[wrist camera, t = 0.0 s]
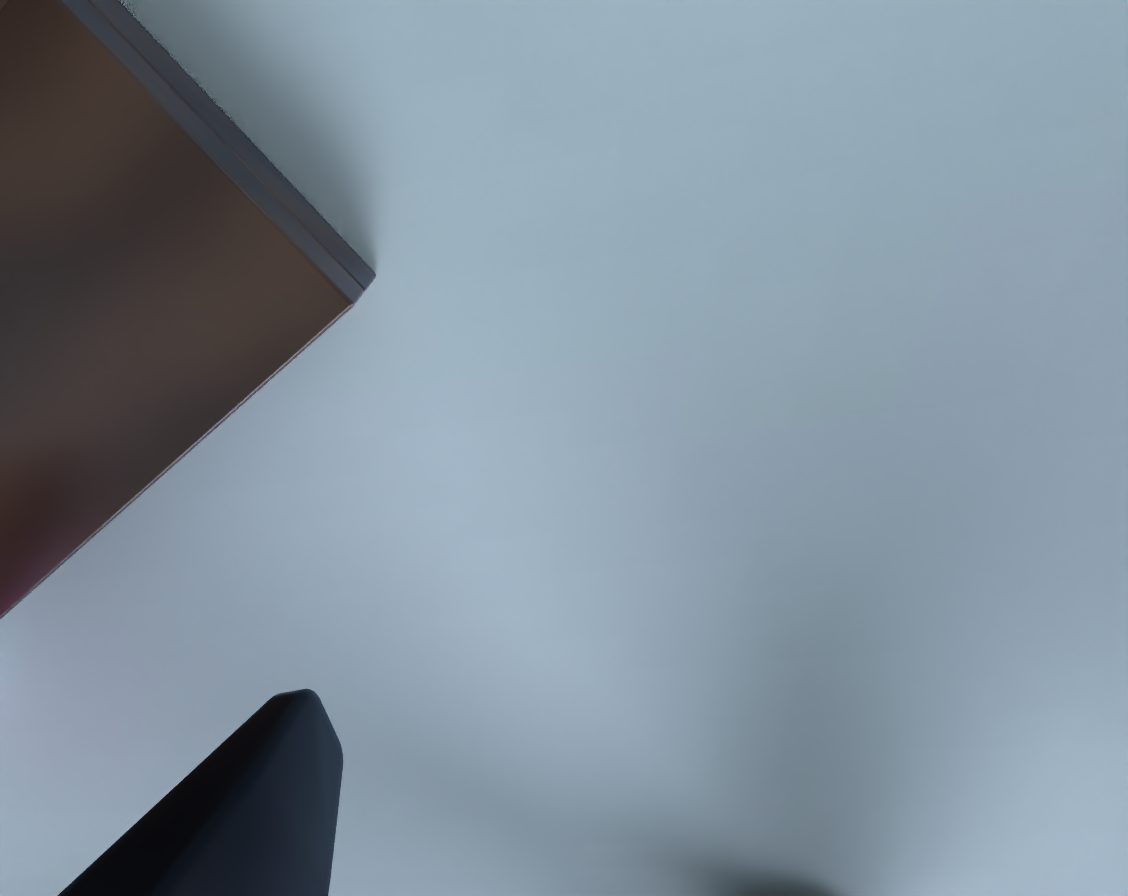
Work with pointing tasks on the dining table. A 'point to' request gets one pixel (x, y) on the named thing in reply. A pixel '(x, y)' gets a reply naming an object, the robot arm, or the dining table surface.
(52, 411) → the stand
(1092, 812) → the dining table surface
